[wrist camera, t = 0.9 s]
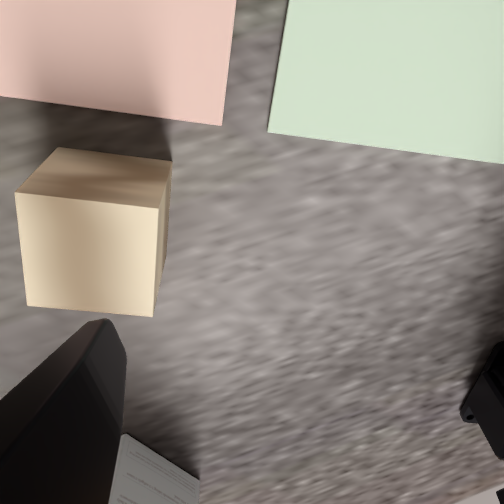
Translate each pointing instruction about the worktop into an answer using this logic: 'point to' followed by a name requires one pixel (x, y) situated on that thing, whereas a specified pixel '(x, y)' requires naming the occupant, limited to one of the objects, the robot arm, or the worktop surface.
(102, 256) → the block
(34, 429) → the robot arm
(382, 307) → the worktop surface
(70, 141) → the worktop surface
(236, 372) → the worktop surface
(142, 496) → the supplement box
